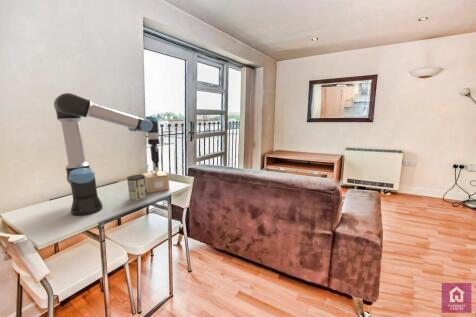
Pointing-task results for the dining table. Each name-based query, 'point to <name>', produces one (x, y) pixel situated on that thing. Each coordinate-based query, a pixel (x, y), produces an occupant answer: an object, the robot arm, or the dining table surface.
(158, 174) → the flap
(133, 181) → the coffee can
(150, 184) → the carton
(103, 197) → the dining table surface
